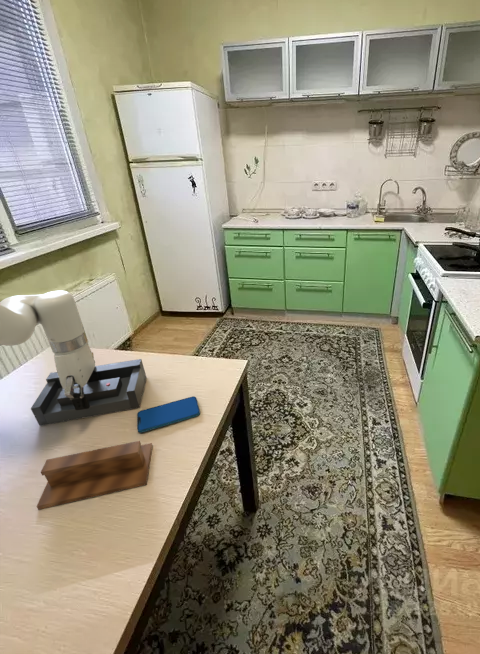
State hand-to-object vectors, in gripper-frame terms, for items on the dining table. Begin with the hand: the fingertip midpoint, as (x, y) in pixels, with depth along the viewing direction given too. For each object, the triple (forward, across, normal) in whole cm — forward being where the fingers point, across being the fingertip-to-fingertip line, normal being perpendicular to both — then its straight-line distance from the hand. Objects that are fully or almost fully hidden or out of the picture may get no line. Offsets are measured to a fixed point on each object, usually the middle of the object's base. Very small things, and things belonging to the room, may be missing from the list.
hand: (88, 396), depth 86 cm
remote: (0, -1, 0) cm, 1 cm away
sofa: (+4, -4, 0) cm, 5 cm away
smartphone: (+4, +8, +21) cm, 22 cm away
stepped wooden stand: (+4, +22, +8) cm, 24 cm away
